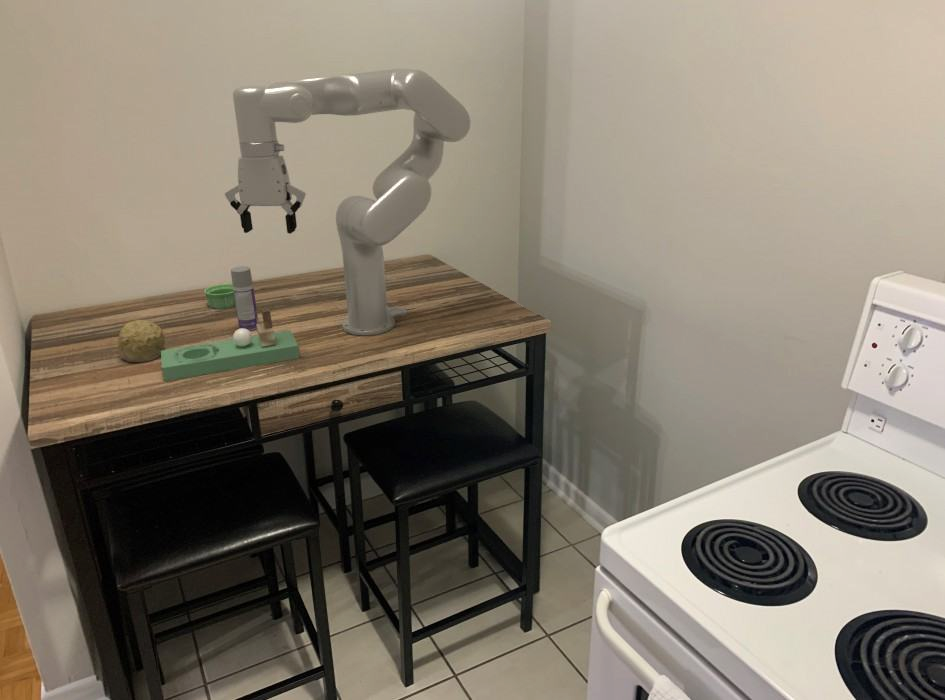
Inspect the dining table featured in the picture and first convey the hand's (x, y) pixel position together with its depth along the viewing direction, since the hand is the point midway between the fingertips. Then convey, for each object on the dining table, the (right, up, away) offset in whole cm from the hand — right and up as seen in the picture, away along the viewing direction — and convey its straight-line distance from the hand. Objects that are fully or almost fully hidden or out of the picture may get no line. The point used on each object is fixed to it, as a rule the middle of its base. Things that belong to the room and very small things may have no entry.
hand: (269, 231), depth 157 cm
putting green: (-10, -28, +4) cm, 30 cm away
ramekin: (-23, -13, +39) cm, 47 cm away
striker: (-2, -23, +6) cm, 24 cm away
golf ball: (-7, -23, +3) cm, 24 cm away
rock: (-31, -27, +8) cm, 42 cm away
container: (-11, -20, +22) cm, 32 cm away
